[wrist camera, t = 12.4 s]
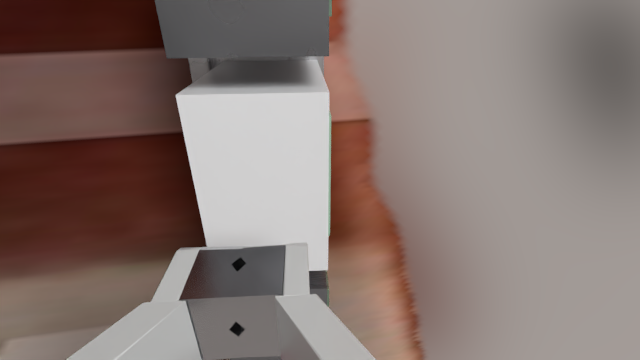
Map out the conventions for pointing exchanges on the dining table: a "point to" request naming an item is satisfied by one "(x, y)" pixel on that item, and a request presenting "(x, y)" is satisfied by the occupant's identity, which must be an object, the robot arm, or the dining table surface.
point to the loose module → (261, 154)
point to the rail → (247, 47)
